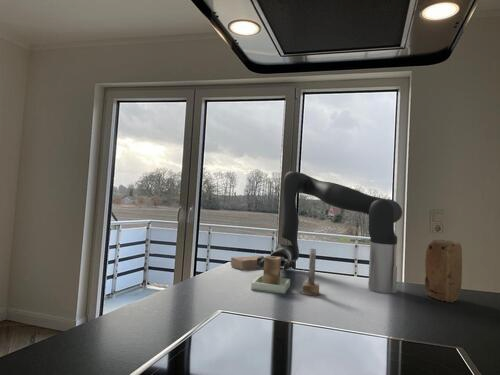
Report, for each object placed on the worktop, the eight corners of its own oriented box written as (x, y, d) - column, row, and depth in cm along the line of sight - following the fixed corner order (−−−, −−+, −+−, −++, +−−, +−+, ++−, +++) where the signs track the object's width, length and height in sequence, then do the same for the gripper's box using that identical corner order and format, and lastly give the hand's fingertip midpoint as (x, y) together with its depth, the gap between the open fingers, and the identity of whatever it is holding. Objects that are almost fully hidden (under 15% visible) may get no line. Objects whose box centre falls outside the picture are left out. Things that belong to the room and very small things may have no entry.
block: (463, 303, 119) (465, 242, 119) (446, 304, 116) (448, 242, 117) (436, 293, 129) (438, 238, 129) (420, 295, 126) (422, 238, 127)
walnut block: (279, 285, 128) (280, 256, 128) (277, 288, 123) (278, 259, 123) (265, 283, 129) (267, 255, 129) (262, 286, 124) (264, 257, 124)
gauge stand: (318, 292, 123) (321, 248, 123) (317, 296, 118) (320, 250, 119) (304, 290, 124) (306, 247, 125) (302, 294, 120) (304, 249, 120)
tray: (290, 285, 130) (290, 278, 130) (284, 293, 119) (285, 286, 119) (259, 282, 133) (259, 275, 133) (251, 289, 122) (251, 282, 122)
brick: (257, 264, 169) (258, 254, 169) (269, 267, 163) (270, 257, 163) (229, 267, 158) (230, 257, 158) (241, 271, 152) (242, 260, 152)
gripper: (263, 247, 145) (254, 253, 129) (299, 250, 141) (293, 257, 125) (263, 266, 145) (253, 274, 129) (298, 269, 141) (292, 278, 125)
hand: (273, 265), depth 127 cm, fingers open, 8 cm apart
